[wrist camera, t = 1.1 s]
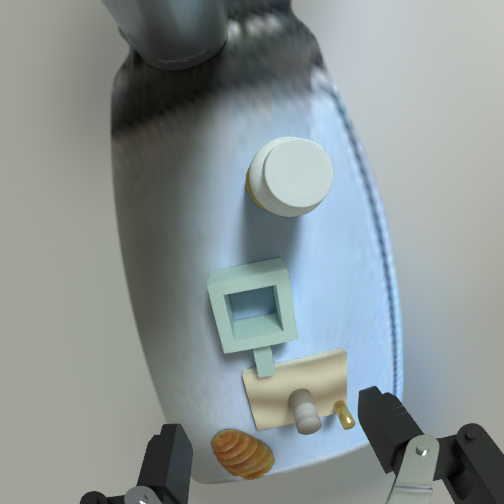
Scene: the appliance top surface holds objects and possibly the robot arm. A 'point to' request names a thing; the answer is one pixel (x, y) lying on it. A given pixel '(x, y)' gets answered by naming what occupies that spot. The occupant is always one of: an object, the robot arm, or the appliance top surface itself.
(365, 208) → the appliance top surface
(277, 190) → the supplement bottle
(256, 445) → the pastry
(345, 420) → the pin
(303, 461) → the appliance top surface
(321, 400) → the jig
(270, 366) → the pale green hollow block
